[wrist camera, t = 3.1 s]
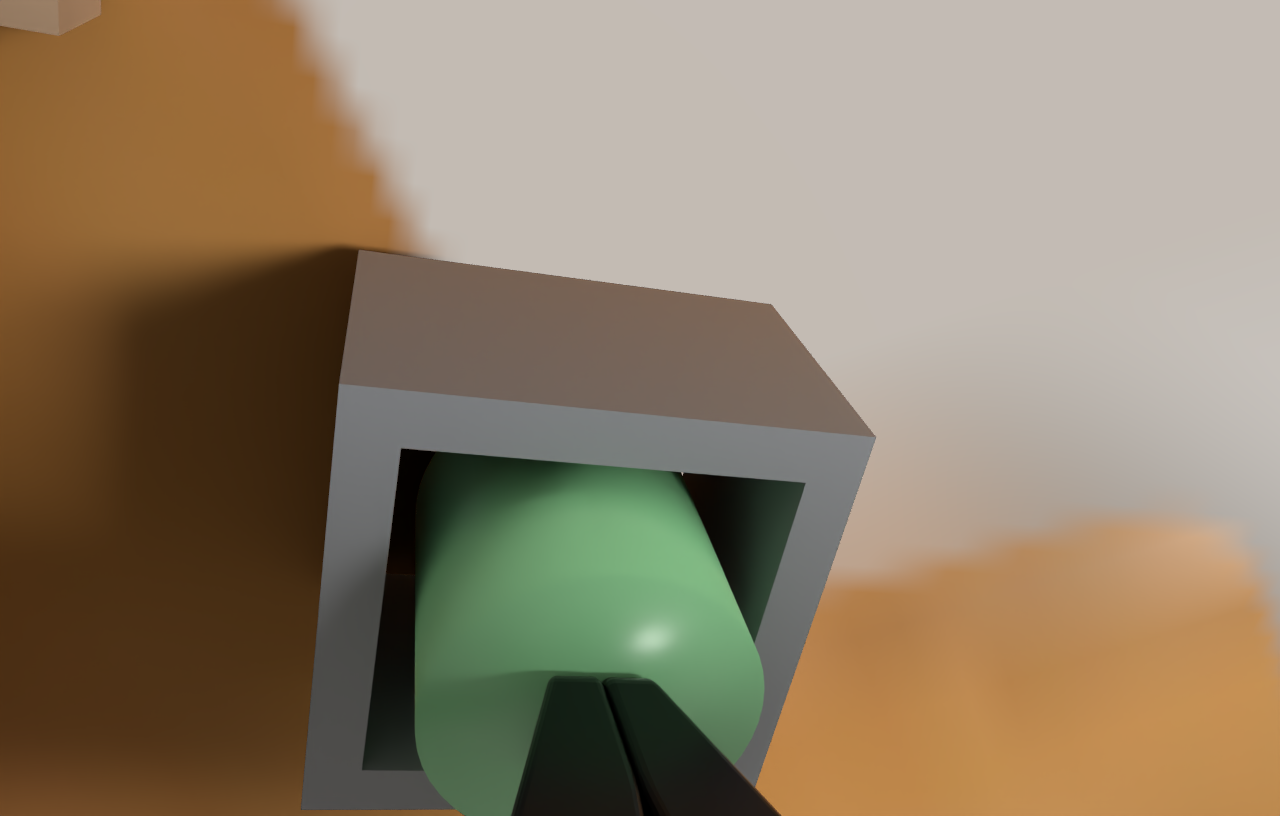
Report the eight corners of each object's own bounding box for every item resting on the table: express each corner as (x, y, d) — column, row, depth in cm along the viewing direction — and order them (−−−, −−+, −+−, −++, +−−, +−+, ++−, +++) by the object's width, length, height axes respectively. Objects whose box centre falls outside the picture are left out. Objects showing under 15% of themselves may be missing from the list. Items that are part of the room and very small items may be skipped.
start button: (652, 622, 12) (718, 840, 9) (401, 610, 11) (396, 843, 8) (709, 406, 11) (804, 585, 8) (431, 376, 10) (438, 564, 7)
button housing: (682, 621, 13) (747, 808, 11) (325, 606, 12) (301, 809, 10) (771, 304, 11) (876, 437, 9) (359, 249, 10) (339, 383, 8)
